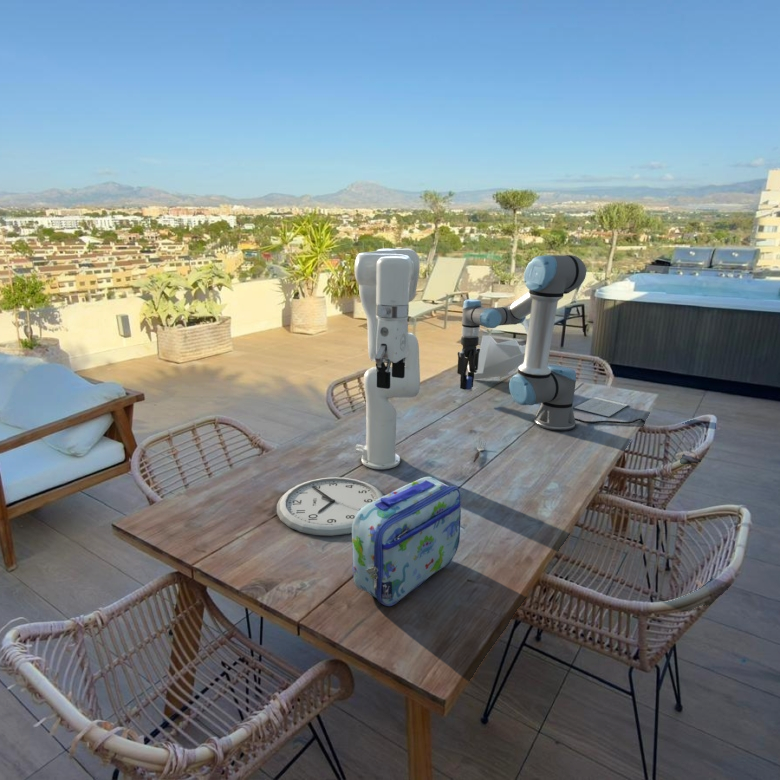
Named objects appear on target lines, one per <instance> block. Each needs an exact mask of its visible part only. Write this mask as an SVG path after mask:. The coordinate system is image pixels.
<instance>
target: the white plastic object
mask: <svg viewBox="0 0 780 780" xmlns="http://www.w3.org/2000/svg"><path fill="white" fill-rule="evenodd" d="M522 324H523V327H524V330H525V333H526V336H527V335H528V328H529V322H528V320H527V317H526V318H525V319H524V321H523V322H522ZM479 346H480V347H479V349H480V352H479V361H478V370H476V371H477V372H476V373H474V380H480V379H490V378H499V379H502V378H505V377H507V376H509V375H510V374H509V373H511V372H512V371H514V370H515V369H517V368H518V367H519V366H520V365H521V364H523V362H524V355H525V348H526V344H524V345H522V344H519V342H518V341H517V339H516V338H514V339H510V340H505V341H501V342H497V341H496V340H495V338H493V336H492V335H487V334H486V335H485V334H483V335H482V336H481V341H480V345H479ZM467 370H468V372H470V371H469V364H468V366H467Z"/></svg>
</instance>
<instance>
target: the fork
mask: <svg viewBox="0 0 780 780" xmlns="http://www.w3.org/2000/svg"><path fill="white" fill-rule="evenodd" d="M486 444H487V441H483V440H479V441H478V444H477V448H476V450H477V452H476V454H475V455H474V458H473V463H475V462H476V461H477V459H478V458H479V456H480V453H481V452H483V451H485V449H486V446H487V445H486Z"/></svg>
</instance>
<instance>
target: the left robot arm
mask: <svg viewBox="0 0 780 780" xmlns="http://www.w3.org/2000/svg"><path fill="white" fill-rule="evenodd" d="M420 266H421V263H420V258H419V255H418V253H417V252H416V251H415V250H414V249H410V248H380V249H379V248H378V249H376V250H373V251H366V252H359V253H358V254H357V255H356V257H355V260H354V270H353V271H354V278H355V281H356V283H357V284H358V292H359V299H360V303H361V306H362V308H363V312H364V313H365V316H366V323H367V355H368V358H369V360H370V361H371V362H373V363H375V367H371V368H368V369H366V371H365V372H364V374H363V387H364V396H365V410H366V411H365V416H366V417H365V418H366V419H365V423H366V424H365V426H366V427H365V445H362V444H355V447H354V449H355V453H356V454H360V455H361V454H362V456H361V464H362V465H363V466H364V467H367V468H369V469H372V470H373V469H374V470H389V469H393V468H396V467H397V466H398V465H400V463H401V457H400V455H398V454H397V453H396V448H397V409H396V406H395V405H394V403H393V402H392V401H391V400H390V399H392V398H414V397H416V396H418V395H419V393H420V389H421V388H420V387H421V369H420V346H419V340H418V338H417V336H416V335H415V334H414V333H411V332H409V324H408V323H409V322H408V320H409V309H410V308H409V305H410V303H409V302H412V301H413V300H414V298H415V297H416V293H417V288H418V283H419V276H420V271H421V270H420V268H421V267H420Z"/></svg>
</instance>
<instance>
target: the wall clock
mask: <svg viewBox="0 0 780 780" xmlns="http://www.w3.org/2000/svg"><path fill="white" fill-rule="evenodd" d="M383 496H385V494H384V493H383V492H382V491H381V490H380V489H379V488H377V487H376V486H374V485H372V484H371V483H369V482H365V481H362V480H359V479H355V478H349V477H338V476H337V477H335V476H333V477H332V476H331V477H322V478H317V479H312V480H307V481H305V482H302V483H299V484H297V485H295V486H293V487H292V488H290V489H288V490H287V491H286V492H285V493H284V494H283V495H281V496H280V498H279V499H278V502H277V503H276V515H277V517H278V518H279V520H280V521H281V522H282V523H283V524H285V525H286V526H287V527H288V528H290V529H293V530H295V531H297V532H299V533H303V534H308V535H312V536H327V537H328V536H329V537H331V536H332V537H333V536H342V535H350V534H352V526H353V521H354V518H355V516H356V515H357V513H358V512H359V510H360V509H361V508H362V507H364V506H365V505H367V504H369V503H371V502H373V501H375V500H377V499H379V498H381V497H383Z"/></svg>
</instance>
